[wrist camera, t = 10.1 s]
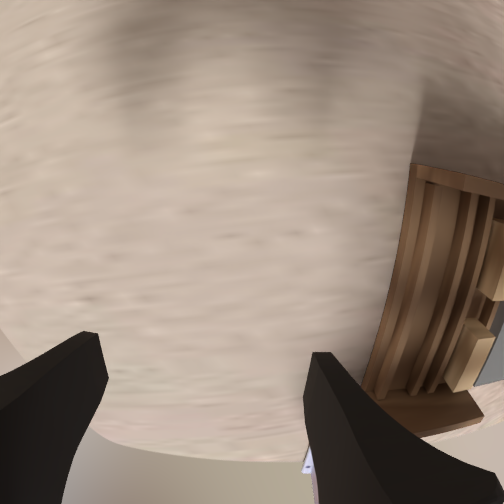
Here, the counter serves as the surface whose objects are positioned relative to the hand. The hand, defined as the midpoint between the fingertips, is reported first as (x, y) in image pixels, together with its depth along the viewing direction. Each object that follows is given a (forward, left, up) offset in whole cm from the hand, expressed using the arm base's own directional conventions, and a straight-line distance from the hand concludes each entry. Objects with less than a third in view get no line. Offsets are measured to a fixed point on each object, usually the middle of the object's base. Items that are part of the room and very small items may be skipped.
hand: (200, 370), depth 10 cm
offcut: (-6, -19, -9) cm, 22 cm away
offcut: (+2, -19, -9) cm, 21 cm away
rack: (-2, -16, -10) cm, 19 cm away
